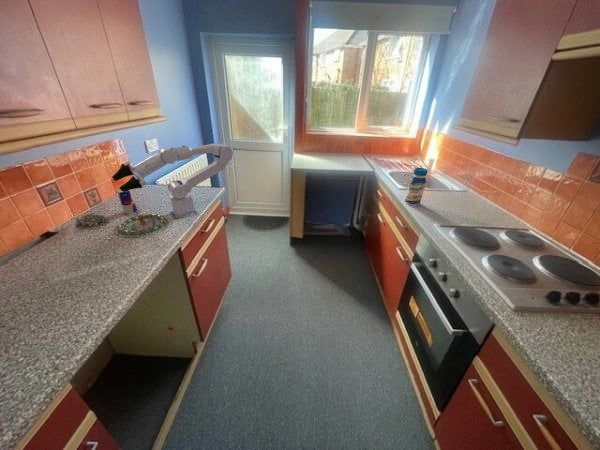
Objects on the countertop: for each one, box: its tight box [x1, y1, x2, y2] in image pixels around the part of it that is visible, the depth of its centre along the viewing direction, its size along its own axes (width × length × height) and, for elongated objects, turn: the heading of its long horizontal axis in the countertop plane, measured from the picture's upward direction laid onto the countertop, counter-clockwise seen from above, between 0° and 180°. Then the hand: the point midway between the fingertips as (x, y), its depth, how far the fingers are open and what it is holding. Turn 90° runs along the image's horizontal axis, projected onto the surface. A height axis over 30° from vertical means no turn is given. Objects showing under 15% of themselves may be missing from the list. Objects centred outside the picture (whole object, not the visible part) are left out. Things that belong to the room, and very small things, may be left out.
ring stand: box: [137, 214, 147, 227], centre depth 108 cm, size 8×8×6 cm
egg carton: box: [72, 212, 106, 227], centre depth 109 cm, size 11×8×4 cm
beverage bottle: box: [404, 167, 429, 207], centre depth 139 cm, size 8×8×20 cm
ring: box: [117, 213, 168, 237], centre depth 109 cm, size 18×18×2 cm
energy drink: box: [117, 189, 138, 215], centre depth 118 cm, size 5×5×12 cm
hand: (117, 184), depth 101 cm, fingers open, 7 cm apart
